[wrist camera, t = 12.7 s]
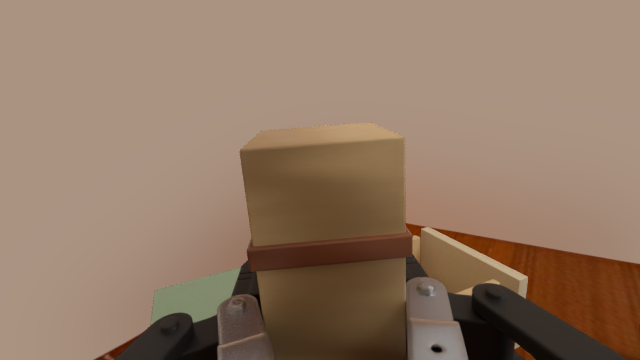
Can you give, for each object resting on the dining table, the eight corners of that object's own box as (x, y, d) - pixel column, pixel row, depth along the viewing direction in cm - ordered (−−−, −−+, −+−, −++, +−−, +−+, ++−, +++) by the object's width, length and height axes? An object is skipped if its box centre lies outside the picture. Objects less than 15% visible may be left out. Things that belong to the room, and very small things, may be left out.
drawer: (451, 271, 46) (453, 219, 44) (548, 331, 34) (558, 264, 32) (316, 318, 39) (311, 259, 37) (379, 418, 27) (377, 337, 24)
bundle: (382, 374, 16) (374, 121, 12) (412, 484, 11) (414, 136, 8) (288, 384, 15) (256, 130, 12) (282, 498, 11) (231, 151, 8)
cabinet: (329, 317, 40) (323, 245, 38) (403, 423, 27) (403, 323, 24) (173, 372, 34) (154, 289, 31) (171, 546, 20) (137, 429, 18)
